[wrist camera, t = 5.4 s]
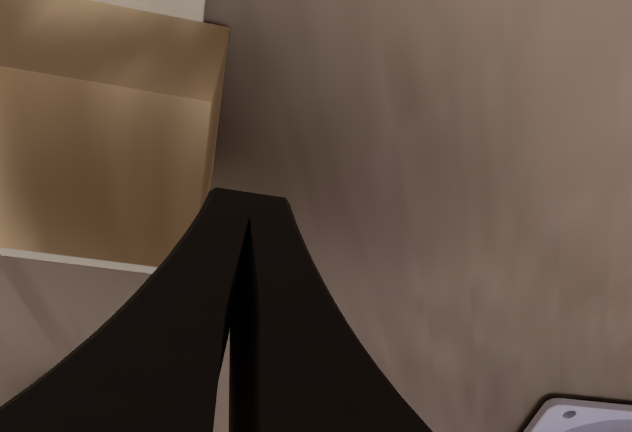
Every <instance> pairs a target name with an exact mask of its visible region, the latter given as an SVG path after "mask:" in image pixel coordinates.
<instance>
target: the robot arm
mask: <svg viewBox="0 0 632 432" xmlns="http://www.w3.org/2000/svg"><path fill="white" fill-rule="evenodd" d="M229 330H230V373H229V432H432V430H431V429H430V428H429V427H428V426H427V425H426V424H425V423H424V421H423V420H422V419H421V418H420V417H419V416H418V415H417V414H416V412H415V411H414V410H413V409H412V408H411V407H410V406H409V405H408V403H407V402H406V401H405V400H404V399H403V398H402V397H401V396H400V394H399V393H398V392H397V391H396V389H395V388H394V387H393V385H392V384H391V383H390V382H389V380H388V379H387V378H386V377H385V375H384V374H383V373H382V371H381V370H380V369H379V368H378V366H377V365H376V363H375V362H374V361H373V359H372V358H371V357H370V355H369V354H368V352H367V351H366V350H365V348H364V347H363V345H362V344H361V343H360V341H359V340H358V338H357V337H356V335H355V334H354V332H353V331H352V329H351V327H350V326H349V324H348V323H347V321H346V320H345V318H344V316H343V315H342V313H341V311H340V310H339V308H338V306H337V305H336V303H335V301H334V300H333V298H332V296H331V294H330V293H329V291H328V289H327V287H326V285H325V283H324V282H323V280H322V278H321V276H320V274H319V272H318V270H317V268H316V266H315V264H314V262H313V260H312V258H311V256H310V254H309V252H308V250H307V247H306V245H305V243H304V240H303V238H302V236H301V234H300V231H299V229H298V226H297V224H296V221H295V218H294V215H293V213H292V210H291V206H290V204H289V202H288V201H287V200H286V198H283V197H276V196H269V195H263V194H256V193H249V192H242V191H236V190H229V189H222V188H214V189H213V190H211V191H210V192H208V195H207V197H206V200H205V202H204V204H203V205H202V207H201V209H200V211H199V213H198V214H197V216H196V217H195V219H194V220H193V222H192V223H191V225H190V226H189V228H188V229H187V231H186V232H185V234H184V235H183V236H182V238H181V239H180V240H179V241H178V243H177V244H176V245H175V247H174V248H173V249H172V251H171V252H170V253H169V255H168V256H167V257H166V258H165V260H164V261H163V262H162V263H161V264H160V266H159V267H158V268H157V269H156V270H155V271H154V272H153V273H152V275H151V276H150V277H149V278H148V279H147V280H146V281H145V282H144V284H143V285H142V286H141V287H140V288H139V289H138V290H137V292H136V293H135V294H134V295H133V296H132V297H131V298H130V299H129V300H128V301H127V302H126V303H125V304H124V305H123V306H122V307H121V308H120V309H119V310H118V311H117V312H116V313H115V314H114V315H113V316H112V317H111V318H110V319H109V320H107V321H106V322H105V323H104V324H103V325H102V326H101V327H100V328H99V329H98V330H97V331H96V332H95V333H93V334H92V335H91V336H90V337H89V338H88V339H87V340H85V341H84V342H83V343H82V344H81V345H79V346H78V347H77V348H76V349H75V350H74V351H72V352H71V353H70V354H69V355H68V356H66V357H65V358H64V359H63V360H62V361H61V362H59V363H58V364H57V365H56V366H55V367H53V368H52V369H51V370H49V371H48V372H47V373H46V374H44V375H43V376H42V377H41V378H39V379H38V380H37V381H35V382H34V383H33V384H32V385H30V386H29V387H27V388H26V389H25V390H23V391H22V392H20V393H19V394H18V395H16V396H15V397H13V398H12V399H11V400H9V401H8V402H6V403H5V404H4V405H2V406H1V407H0V432H213V425H214V415H215V405H216V396H217V386H218V380H219V375H220V371H221V366H222V362H223V357H224V353H225V348H226V344H227V339H228V335H229ZM523 432H632V405H625V404H615V403H605V402H595V401H585V400H575V399H565V398H553V399H550V400H548V401H546V402H545V403H544V404H543V405H542V407H541V408H540V409H539V411H538V412H537V414H536V415H535V416H534V418H533V419H532V420H531V422H530V423H529V425H528V426H527V427H526V429H525V430H524V431H523Z"/></svg>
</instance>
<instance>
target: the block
mask: <svg viewBox="0 0 632 432" xmlns="http://www.w3.org/2000/svg"><path fill="white" fill-rule="evenodd" d="M229 32H230V27H225V26H220V25H215V24H210V23H205V22H199V21H194V20H189V19H184V18H179V17H174V16H168V15H163V14H158V13H153V12H148V11H143V10H137V9H132V8H127V7H122V6H117V5H111V4H106V3H101V2H96V1H91V0H0V248H8V249H16V250H24V251H32V252H40V253H48V254H56V255H64V256H72V257H80V258H88V259H96V260H104V261H112V262H120V263H128V264H136V265H144V266H152V267H159V266H160V264H161V263H162V262H163V261H164V260H165V258H166V257H167V256H168V255H169V253H170V252H171V251H172V249H173V248H174V247H175V245H176V244H177V243H178V241H179V240H180V239H181V238H182V236H183V235H184V234H185V232H186V231H187V229H188V228H189V226H190V225H191V223H192V222H193V220H194V219H195V217H196V216H197V214H198V213H199V211H200V209H201V207H202V205H203V204H204V202H205V200H206V197H207V195H208V192H209V188H210V183H211V178H212V173H213V166H214V157H215V149H216V141H217V132H218V124H219V116H220V107H221V99H222V91H223V82H224V74H225V66H226V57H227V49H228V41H229Z"/></svg>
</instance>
